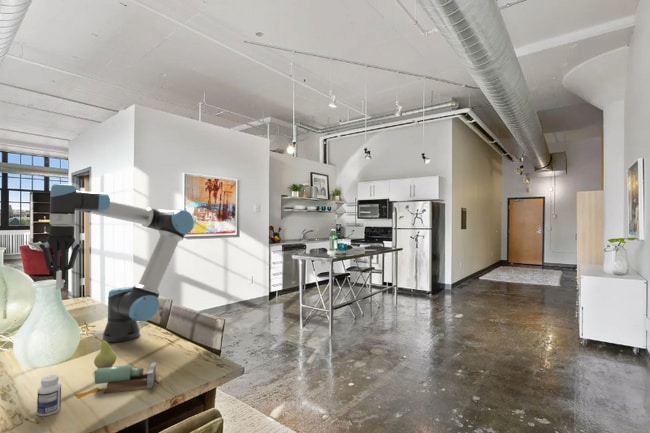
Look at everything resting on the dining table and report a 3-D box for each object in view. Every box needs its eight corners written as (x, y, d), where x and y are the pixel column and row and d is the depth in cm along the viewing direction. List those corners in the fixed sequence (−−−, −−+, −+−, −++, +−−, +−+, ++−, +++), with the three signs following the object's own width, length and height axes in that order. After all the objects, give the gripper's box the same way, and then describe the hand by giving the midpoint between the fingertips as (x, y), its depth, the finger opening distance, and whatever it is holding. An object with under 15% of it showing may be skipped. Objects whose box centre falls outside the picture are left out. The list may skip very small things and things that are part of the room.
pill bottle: (45, 406, 103) (46, 373, 103) (64, 406, 104) (66, 373, 104) (32, 417, 98) (33, 382, 98) (52, 416, 98) (53, 382, 98)
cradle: (111, 380, 120) (111, 366, 120) (155, 376, 125) (156, 362, 125) (103, 393, 112) (104, 377, 112) (151, 388, 116) (152, 373, 116)
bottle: (99, 366, 118) (144, 362, 122) (98, 381, 117) (143, 377, 121) (95, 370, 113) (141, 365, 117) (94, 386, 112) (140, 380, 117)
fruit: (111, 372, 127) (112, 339, 127) (88, 372, 126) (89, 339, 126) (119, 364, 133) (120, 333, 133) (97, 365, 132) (98, 333, 132)
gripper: (36, 225, 125) (33, 290, 124) (78, 226, 129) (76, 289, 129) (45, 224, 132) (43, 286, 132) (85, 225, 136) (83, 285, 136)
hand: (59, 288), depth 130 cm, fingers closed
